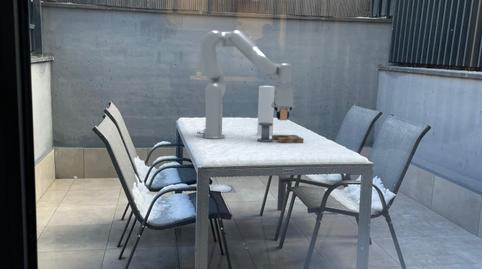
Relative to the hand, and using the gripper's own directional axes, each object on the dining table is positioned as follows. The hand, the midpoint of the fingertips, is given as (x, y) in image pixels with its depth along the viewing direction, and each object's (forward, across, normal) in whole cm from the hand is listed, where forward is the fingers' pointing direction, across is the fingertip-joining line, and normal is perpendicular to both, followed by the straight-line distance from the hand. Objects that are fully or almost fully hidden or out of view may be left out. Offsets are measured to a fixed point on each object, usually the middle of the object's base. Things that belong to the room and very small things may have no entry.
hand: (282, 118), depth 255 cm
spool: (+13, -10, 0) cm, 16 cm away
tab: (+1, 0, 0) cm, 1 cm away
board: (+13, +3, 0) cm, 13 cm away
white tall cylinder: (+13, -4, +23) cm, 26 cm away
